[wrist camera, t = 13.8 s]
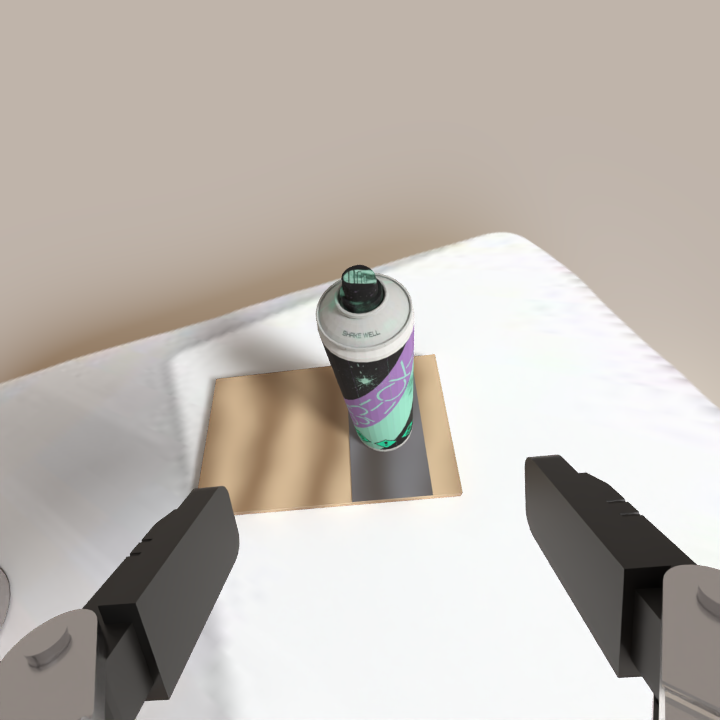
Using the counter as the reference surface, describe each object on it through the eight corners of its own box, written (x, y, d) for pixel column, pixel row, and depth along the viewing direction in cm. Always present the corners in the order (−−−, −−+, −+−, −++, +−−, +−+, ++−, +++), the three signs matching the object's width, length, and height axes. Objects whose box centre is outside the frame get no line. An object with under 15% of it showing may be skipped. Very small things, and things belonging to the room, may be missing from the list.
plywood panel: (201, 518, 33) (192, 515, 32) (222, 385, 41) (215, 378, 39) (460, 496, 32) (462, 492, 30) (433, 361, 39) (434, 353, 38)
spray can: (345, 418, 35) (283, 272, 18) (390, 387, 36) (371, 223, 19) (377, 463, 32) (340, 343, 15) (424, 429, 34) (439, 281, 16)
